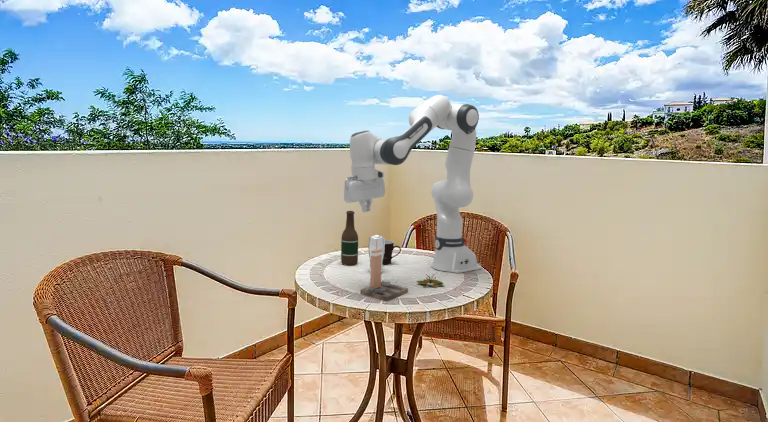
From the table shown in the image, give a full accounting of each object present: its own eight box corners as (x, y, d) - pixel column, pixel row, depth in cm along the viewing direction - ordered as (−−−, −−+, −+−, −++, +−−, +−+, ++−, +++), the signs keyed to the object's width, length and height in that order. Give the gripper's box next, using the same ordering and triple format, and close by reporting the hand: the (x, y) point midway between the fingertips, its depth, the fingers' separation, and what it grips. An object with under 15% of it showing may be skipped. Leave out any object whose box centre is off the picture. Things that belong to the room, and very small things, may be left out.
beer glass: (382, 274, 190) (383, 239, 188) (366, 272, 191) (367, 237, 189) (385, 269, 197) (386, 235, 194) (369, 268, 198) (370, 234, 196)
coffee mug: (370, 262, 208) (371, 241, 206) (383, 259, 214) (384, 238, 212) (388, 268, 200) (389, 245, 198) (401, 264, 206) (402, 243, 204)
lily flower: (450, 289, 174) (451, 277, 174) (421, 290, 171) (421, 279, 171) (438, 279, 186) (439, 269, 185) (411, 281, 183) (411, 270, 182)
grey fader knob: (381, 284, 170) (381, 280, 169) (384, 283, 171) (384, 279, 171) (387, 286, 168) (387, 282, 168) (389, 285, 170) (390, 280, 169)
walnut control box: (360, 293, 164) (360, 286, 164) (382, 285, 175) (382, 278, 174) (387, 301, 157) (387, 294, 157) (408, 292, 167) (408, 285, 167)
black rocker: (374, 292, 161) (374, 290, 161) (378, 290, 162) (378, 288, 162) (382, 293, 158) (382, 290, 158) (386, 291, 160) (386, 288, 160)
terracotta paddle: (370, 288, 165) (371, 250, 163) (376, 285, 168) (378, 248, 166) (374, 289, 164) (375, 251, 162) (381, 286, 167) (382, 249, 165)
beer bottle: (355, 266, 201) (357, 212, 197) (338, 265, 202) (339, 211, 198) (359, 262, 208) (360, 210, 205) (343, 260, 209) (344, 209, 206)
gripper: (351, 177, 159) (354, 216, 161) (386, 172, 175) (389, 208, 177) (338, 177, 163) (341, 215, 165) (373, 173, 179) (376, 207, 181)
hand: (366, 211), depth 171 cm, fingers closed
